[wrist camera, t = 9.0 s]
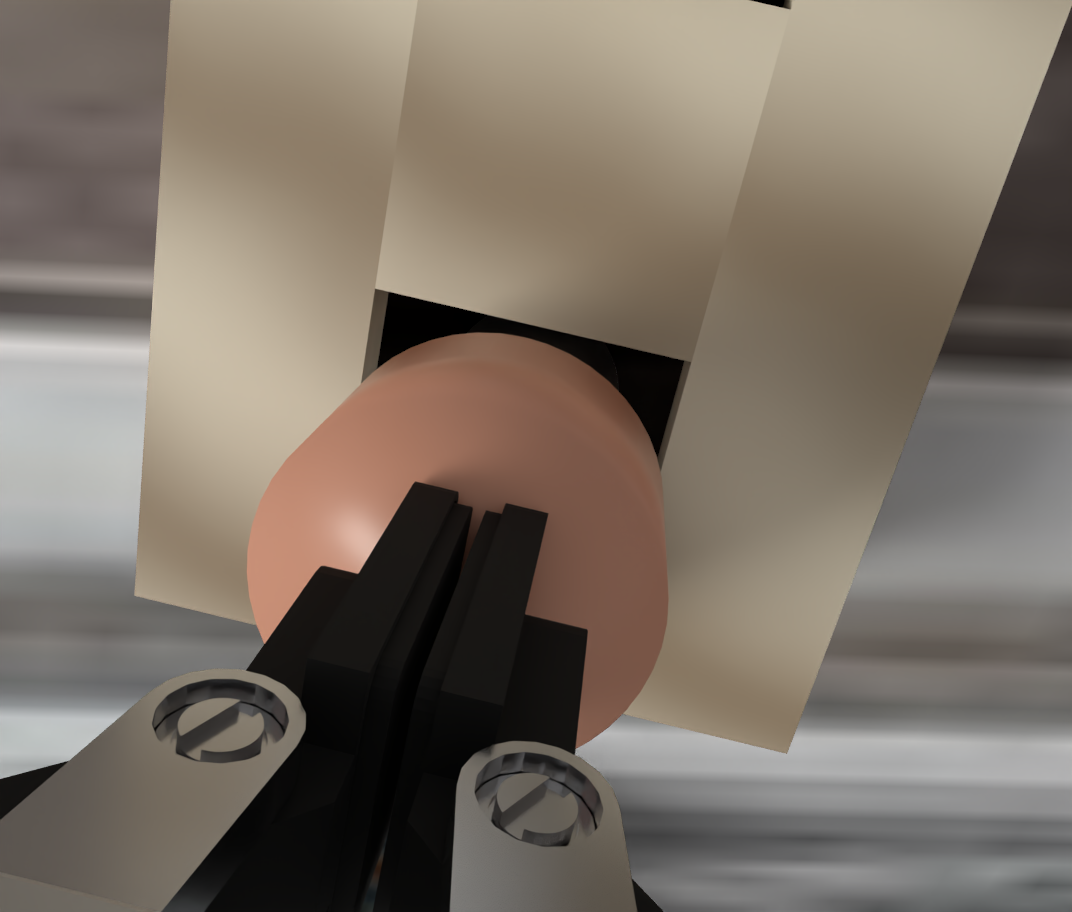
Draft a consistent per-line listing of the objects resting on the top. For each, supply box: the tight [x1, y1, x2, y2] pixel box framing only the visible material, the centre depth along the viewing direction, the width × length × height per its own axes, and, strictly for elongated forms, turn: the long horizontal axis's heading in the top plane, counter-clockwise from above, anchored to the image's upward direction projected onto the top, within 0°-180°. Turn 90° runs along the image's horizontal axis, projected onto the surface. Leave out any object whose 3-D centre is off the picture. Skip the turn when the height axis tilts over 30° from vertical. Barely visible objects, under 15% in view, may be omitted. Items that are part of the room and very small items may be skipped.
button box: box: [135, 0, 1072, 754], centre depth 17 cm, size 18×12×7 cm, turn 168°
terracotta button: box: [247, 315, 669, 748], centre depth 16 cm, size 5×5×9 cm
